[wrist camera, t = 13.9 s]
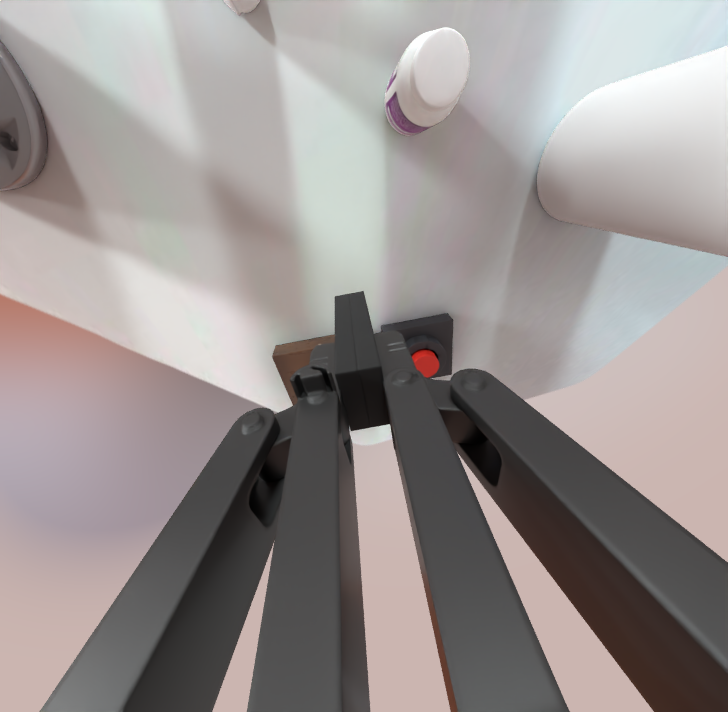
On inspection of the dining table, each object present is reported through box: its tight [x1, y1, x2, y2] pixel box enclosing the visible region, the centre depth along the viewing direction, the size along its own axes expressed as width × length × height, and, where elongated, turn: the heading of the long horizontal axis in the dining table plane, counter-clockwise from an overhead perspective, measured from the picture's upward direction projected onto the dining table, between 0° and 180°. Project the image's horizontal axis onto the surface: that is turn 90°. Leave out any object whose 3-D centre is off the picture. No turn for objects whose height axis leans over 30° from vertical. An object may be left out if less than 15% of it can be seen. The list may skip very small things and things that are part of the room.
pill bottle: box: [384, 28, 470, 136], centre depth 23 cm, size 5×5×10 cm
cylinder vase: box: [537, 46, 728, 257], centre depth 21 cm, size 12×12×25 cm
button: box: [411, 349, 439, 378], centre depth 39 cm, size 4×4×2 cm
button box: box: [381, 313, 453, 379], centre depth 41 cm, size 10×10×4 cm
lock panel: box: [272, 335, 335, 406], centre depth 42 cm, size 14×11×3 cm
